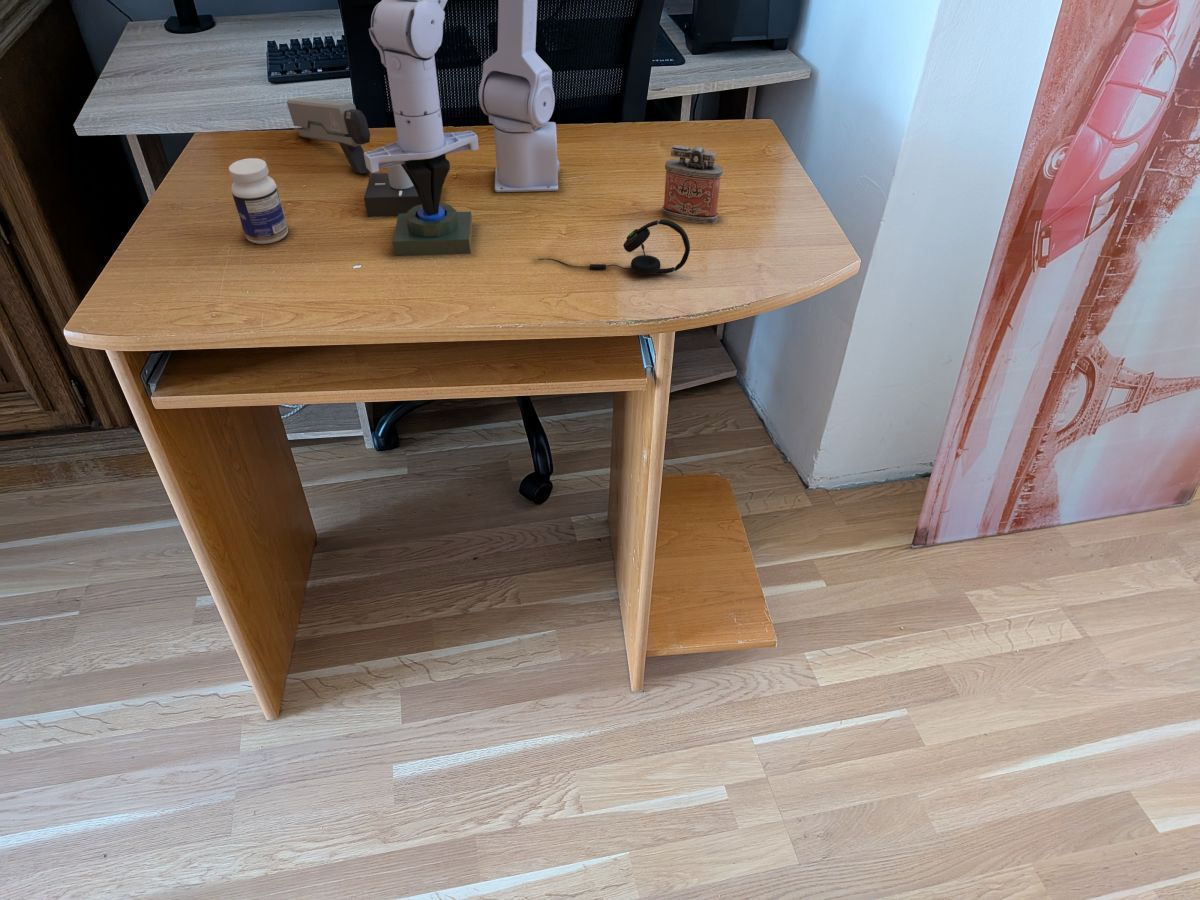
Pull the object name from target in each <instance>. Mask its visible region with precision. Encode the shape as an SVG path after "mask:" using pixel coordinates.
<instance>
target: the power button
mask: <svg viewBox="0 0 1200 900" xmlns="http://www.w3.org/2000/svg"><path fill="white" fill-rule="evenodd" d="M417 214H418V219H419V220H424V221H436V220H439V219H442V218H444V217H445V210H444V209H443V208H442V207H440V206H439V211H438V214H434V215H430V216H429V215H428V214H427V213H426V212H425V211H424V210H423V207H422V208H420V209H419V210H418V212H417Z"/></svg>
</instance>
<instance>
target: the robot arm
mask: <svg viewBox="0 0 1200 900" xmlns="http://www.w3.org/2000/svg"><path fill="white" fill-rule="evenodd" d="M448 1H449V0H381V1H380V2H378V3H377V4H376V5H375V6H374V8H373V10H372V13H371V16H370V17H371V18H370V27H369V28H368V32H369V37H370V39H371V42H372V44H373V45H374V47H376V49H377V51H378V52H379V55H380V62H381V64H383V67H385V68H386V72H387V79H388V87H389V92H390V99H391V106H392V110H393V111H392V112H393V117H394V123H395V124H394V125H395V131H396V137H397V140H396V141H394V142H391V143H389V144H386V145H383V146H380V147H377V148H375V149H372V150H369V151H364V158H365V163H366V168H367V169H368V170H369V171H370V172H369V173H370V174H375V173H378V172H379V171H380V170H381V169H387V167H391V166H396V165H400V164H401V166H402V167H403V169H404V170H405V172H406V173H407V175H408V176H409V178H410V180H411V181H412V183H413V185H414V187H415V189H416V191H417V193H418V196H419V198H420V201H421V204H422V207H423V210H424V211H425V212H426V213H427V214H428V215H429V216H430V215H434V214H438V211H439V201H440V202H441V199H440V195H441V196H442V192H441V191H443V187H444V184H445V181H446V179H447V176H448V174H449V172H450V171H451V170H450V169H451V165H450V164H451V163H450V161H449V160H448V159H447V155H450V154H455V153H456V154H457V153H460V152H464V151H471V152H475V151H479V139H478V138H479V137H478V135H477V134H476V133H475V132H474V131H473V130H465V131H455V132H444V127H443V125H444V124H443V119H442V118H443V116H442V110H441V101H440V92H439V85H438V76H437V67H436V58H435V54H436V53H437V51H438V50H439V48H440V47H441V46H442V43H443V35H444V21H445V18H446V17H445V15H446V12H445V10H444V9H445V8H446V5H447V2H448ZM497 5H498V7H497V50H496V51H495V52H494V53H493V54H491V56H489V58H487V59H486V60H485V61H484V62H483V63H482V77H481V81H480V84H479V87H478V102H479V106H480V109H481V111H482V112H483V114H484V115H486V116H488V123H489V124H492V125H493V134H494V135H493V136H494V137H493V138H494V149H495V163H496V168H495V171H494V192H495V193H524V192H528V193H529V192H557V191H558V190H559V174H558V173H560V160H559V159H558V141H557V140H558V139H557V136H558V135H557V123H556V122H554V121H550V119H551V118H552V115H553V113H554V111H555V103H556V97H555V91H554V88H553V70H552V69H551V67H550V66H549V65H548V64H547V63H546V62H545V61H544V60H543V59H542V58H541V57H540V56H539V54H538V53H537V51H536V47H537V45H536V43H537V20H538V0H498V4H497Z"/></svg>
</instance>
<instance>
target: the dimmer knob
mask: <svg viewBox="0 0 1200 900" xmlns="http://www.w3.org/2000/svg"><path fill="white" fill-rule="evenodd" d="M386 170H387V173H388V177H389V183H390V186H391V187H392V188H395V189H407V188H410V187H412V186H414V185H413V183H412V181H411V180H410V178H409V176H408V175H407V173H406V172H405V170H404V169H403V167H402V166H401V164H400V165H396V166H391V167H386Z"/></svg>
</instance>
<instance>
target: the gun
mask: <svg viewBox="0 0 1200 900" xmlns="http://www.w3.org/2000/svg"><path fill="white" fill-rule="evenodd" d="M286 105H287V109H288V111H289V115H290V117H291V120H292V123H293V126H294V127H297V132H298V135H299V136H300V137H302V138H305V139H312V140H317V141H322V142H327V143H333V144H338V145H339V146H340V148H341V150H342V152H343V154H344V157H345V158H346V160H347V161H348V163H349V166H350V167H351V169H352V171H353V172H354V173H356V174H361V175H365V174H367V173H371V172H370V171H369V170H368V169H367V168H366V163H365V158H364V152H365V151H364V149H363V147H362V146H363V145H365V144H369V143H370V142H371V133H370V129H369V125H368V121H367V117H366V116H365V114H364V113H363V111H362V110H360V109H357V108H356V104H354V102H348V101H339V100H338V101H337V100H330V99H329V100H328V99H318V98H307V97H295V98H291V99H288V100H287V101H286ZM298 127H299V128H298Z"/></svg>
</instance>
